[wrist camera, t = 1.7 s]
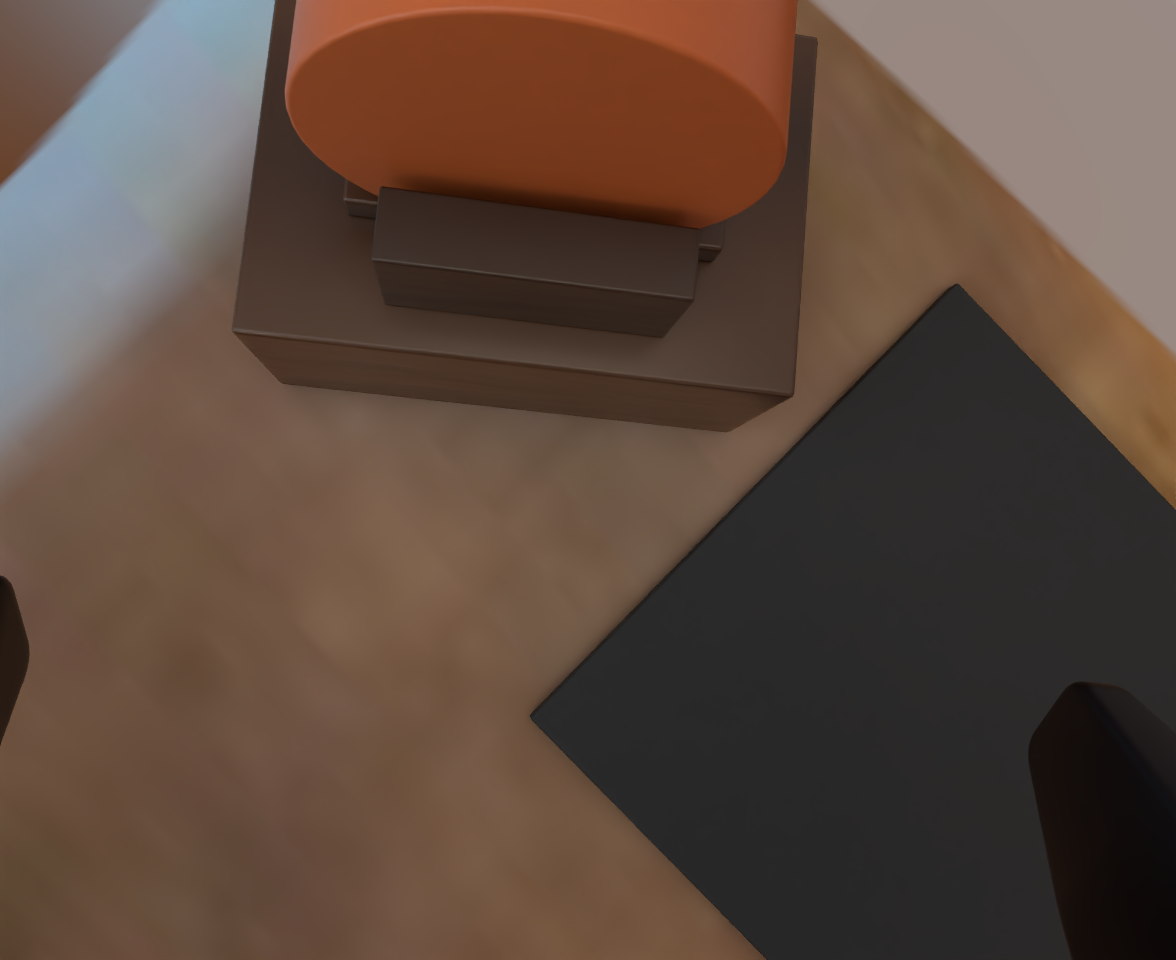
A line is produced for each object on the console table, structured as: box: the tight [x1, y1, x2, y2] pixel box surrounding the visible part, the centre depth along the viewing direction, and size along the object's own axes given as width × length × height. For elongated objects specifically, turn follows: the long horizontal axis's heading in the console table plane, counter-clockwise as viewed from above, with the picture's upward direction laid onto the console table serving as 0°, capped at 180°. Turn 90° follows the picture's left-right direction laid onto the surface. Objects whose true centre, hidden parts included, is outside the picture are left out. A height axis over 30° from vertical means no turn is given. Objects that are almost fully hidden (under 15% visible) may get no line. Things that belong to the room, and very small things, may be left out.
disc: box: [285, 0, 797, 229], centre depth 14 cm, size 2×7×7 cm, turn 84°
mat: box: [530, 284, 1176, 960], centre depth 22 cm, size 20×14×1 cm
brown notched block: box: [232, 0, 818, 432], centre depth 19 cm, size 7×10×7 cm
